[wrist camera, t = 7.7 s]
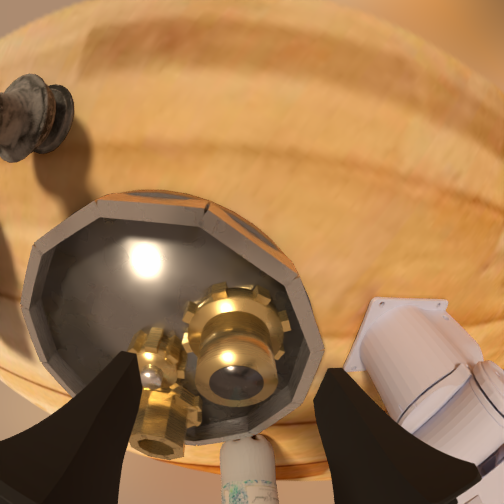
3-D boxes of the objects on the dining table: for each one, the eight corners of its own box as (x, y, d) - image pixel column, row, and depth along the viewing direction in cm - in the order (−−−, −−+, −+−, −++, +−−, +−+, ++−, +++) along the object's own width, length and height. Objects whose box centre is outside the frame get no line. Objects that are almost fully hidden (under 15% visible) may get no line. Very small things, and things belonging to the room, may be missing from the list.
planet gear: (218, 408, 22) (217, 455, 17) (168, 427, 23) (162, 468, 18) (160, 365, 20) (147, 417, 15) (115, 391, 21) (99, 433, 16)
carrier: (345, 213, 17) (397, 248, 11) (278, 426, 26) (285, 475, 20) (26, 184, 15) (-33, 205, 9) (75, 396, 23) (56, 437, 17)
